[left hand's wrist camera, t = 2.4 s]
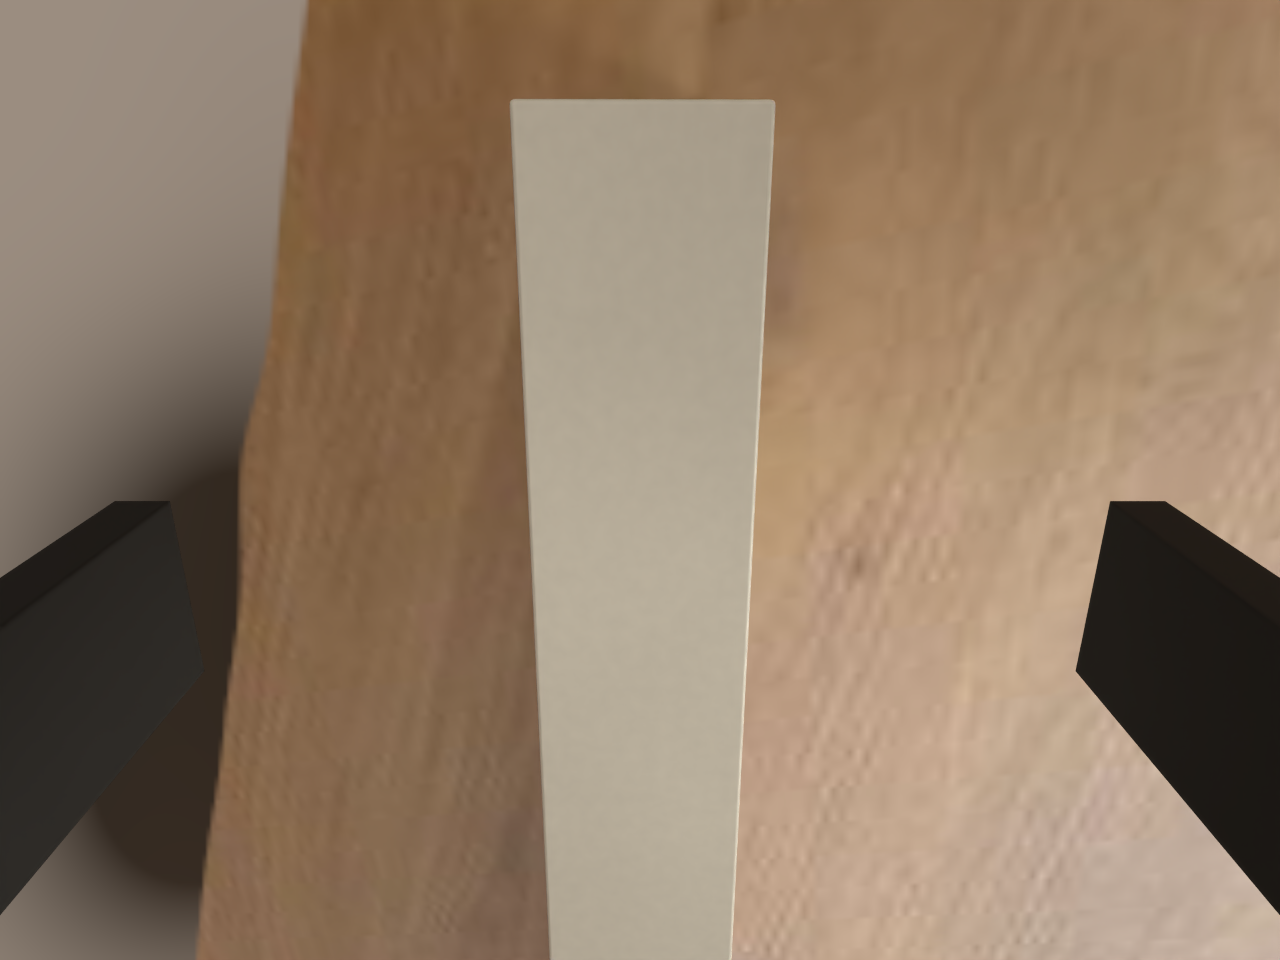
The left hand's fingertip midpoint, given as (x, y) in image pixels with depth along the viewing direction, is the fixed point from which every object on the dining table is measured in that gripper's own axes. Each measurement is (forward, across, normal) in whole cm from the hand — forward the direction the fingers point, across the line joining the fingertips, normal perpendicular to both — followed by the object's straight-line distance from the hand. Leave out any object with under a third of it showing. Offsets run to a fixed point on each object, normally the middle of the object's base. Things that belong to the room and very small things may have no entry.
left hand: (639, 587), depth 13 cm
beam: (+16, 0, -28) cm, 32 cm away
